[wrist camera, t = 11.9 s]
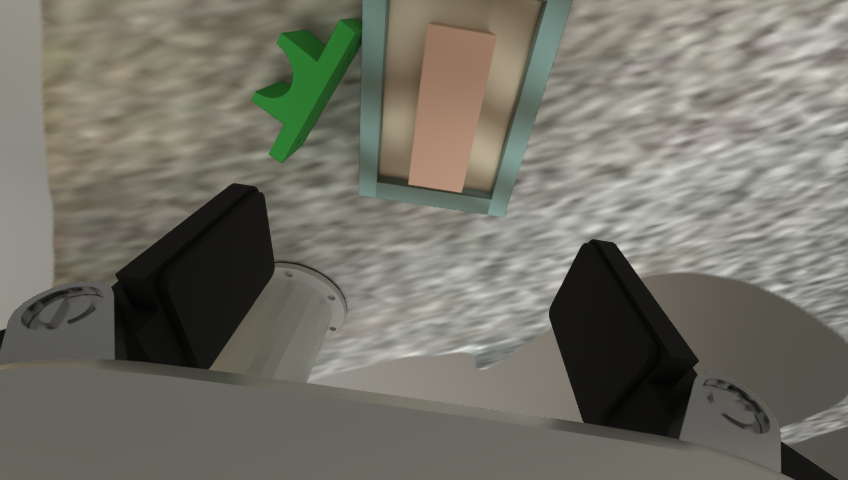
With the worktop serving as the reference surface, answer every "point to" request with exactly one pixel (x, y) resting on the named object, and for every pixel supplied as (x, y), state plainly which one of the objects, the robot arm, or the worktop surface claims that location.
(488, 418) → the robot arm
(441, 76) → the salmon pink rectangular block
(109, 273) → the worktop surface
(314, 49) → the pipe clamp
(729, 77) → the worktop surface
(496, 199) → the nest board
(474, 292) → the worktop surface
